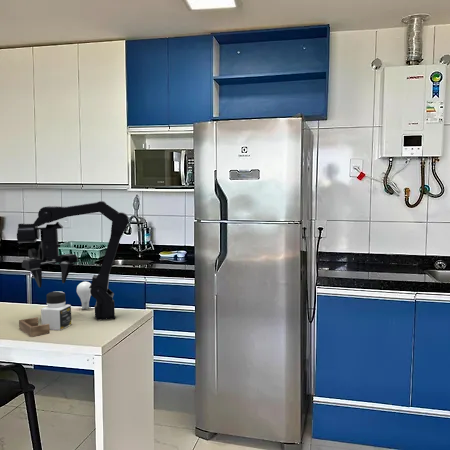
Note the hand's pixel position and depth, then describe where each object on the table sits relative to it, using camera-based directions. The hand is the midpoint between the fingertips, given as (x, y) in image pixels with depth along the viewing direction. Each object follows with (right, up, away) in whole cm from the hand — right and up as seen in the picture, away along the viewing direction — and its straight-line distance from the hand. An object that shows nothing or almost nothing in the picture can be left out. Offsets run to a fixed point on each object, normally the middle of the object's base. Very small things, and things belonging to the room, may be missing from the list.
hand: (51, 285), depth 170 cm
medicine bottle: (+4, -14, -7) cm, 16 cm away
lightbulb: (+7, -12, +17) cm, 22 cm away
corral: (-1, -14, -12) cm, 18 cm away
